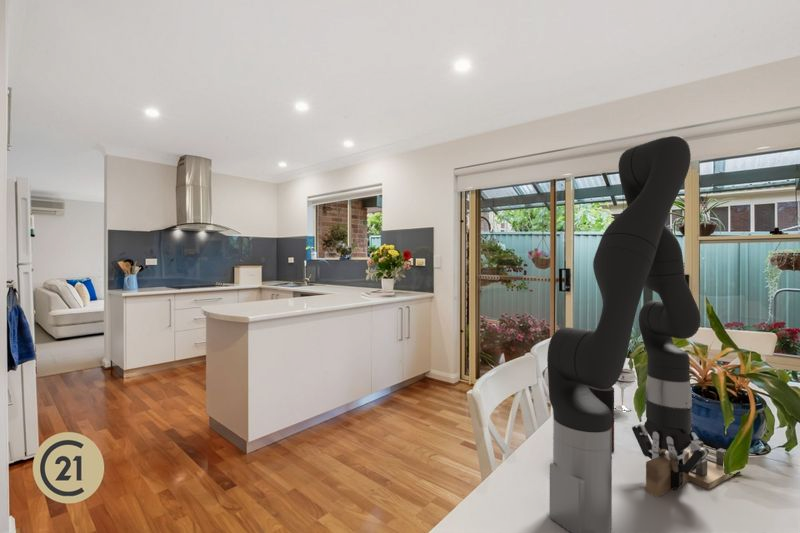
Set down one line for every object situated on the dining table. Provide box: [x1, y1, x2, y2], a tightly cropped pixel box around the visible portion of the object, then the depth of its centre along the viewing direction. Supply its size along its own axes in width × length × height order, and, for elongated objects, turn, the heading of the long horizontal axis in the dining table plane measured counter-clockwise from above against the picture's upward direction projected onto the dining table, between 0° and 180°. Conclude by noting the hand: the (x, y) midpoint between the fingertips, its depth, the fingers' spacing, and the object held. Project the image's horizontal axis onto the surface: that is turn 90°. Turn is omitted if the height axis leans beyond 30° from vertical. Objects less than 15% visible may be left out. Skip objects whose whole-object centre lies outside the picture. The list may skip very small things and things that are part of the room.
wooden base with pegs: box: [685, 439, 735, 490], centre depth 82 cm, size 14×9×4 cm, turn 118°
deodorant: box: [588, 386, 615, 454], centre depth 91 cm, size 6×6×15 cm
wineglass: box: [614, 367, 636, 410], centre depth 118 cm, size 7×7×12 cm
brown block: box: [645, 450, 689, 498], centre depth 75 cm, size 12×2×6 cm, turn 118°
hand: (667, 484), depth 75 cm, fingers closed on brown block, 2 cm apart
